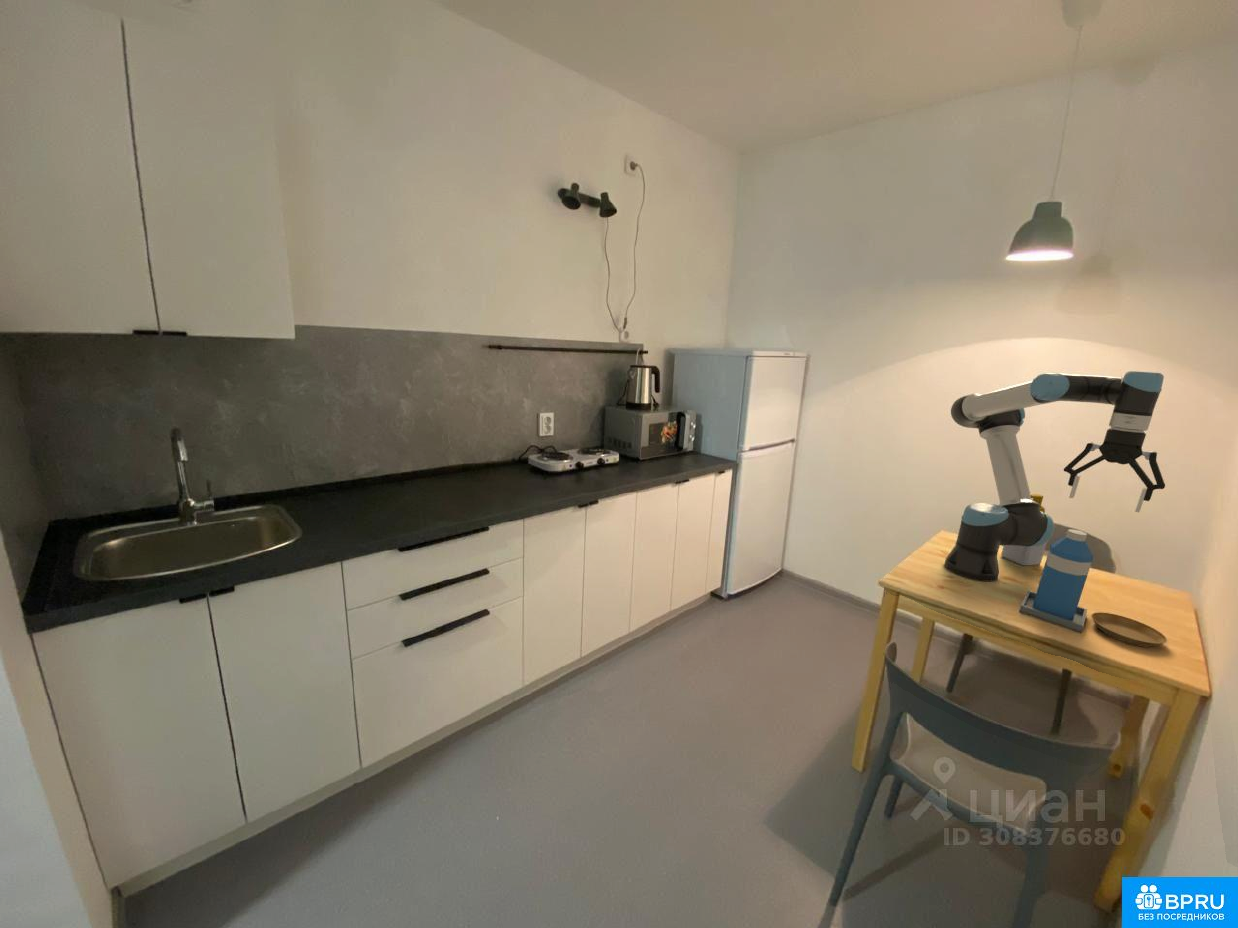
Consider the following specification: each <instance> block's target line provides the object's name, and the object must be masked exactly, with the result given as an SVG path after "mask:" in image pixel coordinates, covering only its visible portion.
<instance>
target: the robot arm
mask: <svg viewBox="0 0 1238 928" xmlns="http://www.w3.org/2000/svg"><path fill="white" fill-rule="evenodd" d="M1164 379H1165V375H1164V374H1163V373H1161V372H1151V371H1147V372H1146V371H1134V370H1128V371H1126V372H1125V373H1124V375H1123V377H1115V376H1106V375H1098V374H1097V375H1096V374H1094V375H1093V374H1092V375H1086V374H1085V375H1084V374H1072V373H1071V374H1069V373H1059V372H1049V373H1041V374H1038V375H1037V376H1036V377H1035V378H1033V379H1032V380H1031V381H1027V382H1024V383H1020V384H1016V385H1012V386H1008V387H1005V388H1001V389H997V390H993V391H990V392H986V393H982V394H979V393H971V394H967V395H964V396H961V397H960V398H957V399H956V400H954V402H953V403H952V405H951V408H950V415H951V418H952V419H953V421H954V422H955V423H956V424H957V425H959V426H961V427H963V428H967V429H968V428H969V429H978V433H979V437H980V438H981V439H983V440H986V441H985V442H986V446H987V449H988V455H989V459H990V463H991V468H992V469H991V470H992V472H993V477H994V480H995V481H994V482H995V486H996V490H997V493H998V499H999V504H998V505H997V504H993V503H990V504H989V503H985V502H980V503H977V502H976V503H970V504H968V505H967V506H966V507H965V508H964V511H963V514H962V515H961V522H960V525H959V526H960V527H959V529H958V533H957V537H956V538H957V539H956V542H955V545H954V547H952V549H951V551H950V552H949V553H948V555H947V556H946V558H945V561H944V567H945V568H946V569H948V570H949V571H951V572H952V573H953V574H956V575H958V576H961V577H964V578H967V579H969V580H970V579H971V580H976V581H981V582H994V581H997V580H998V578H999V575H1000V569H999V568H1000V567H999V563H998V562H999V561H998V553H999V549H1000V546H1004V545H1013V546H1025V547H1030V546H1041V545H1043V544H1045V543H1046V542H1047V543H1048V542H1049V540H1050V539H1051V537H1053V535H1054V530H1055V524H1054V520H1053V518H1052V517H1051V516H1050V515H1049V514H1048V513H1046V512H1045V513H1044V512H1041V511H1040V507H1039V504H1038V503H1037V502H1035V501H1033V498H1031V495H1032V494H1031V491H1030V486H1029V483H1028V479H1027V474H1026V472H1025V467H1024V463H1023V462H1024V461H1023V459H1022V454H1021V450H1020V447H1019V442H1018V439H1017V438H1018V437H1017V434H1018V433H1019V432H1020V430H1021V427H1022V426H1023V424H1024V423H1025V420H1024V419H1025V418H1026V411H1025V409H1026V408H1031V407H1035V406H1040V405H1045V404H1050V403H1055V402H1079V403H1095V404H1104V405H1112V406H1114V407H1113V409H1112V413H1111V416H1110V421H1109V424H1108V426H1109V428H1107V430H1106V433H1105V437H1104V439H1103V443H1101V444H1097V443H1094V442H1092V441H1090V442H1087V444H1086V446H1085V447H1084V449H1083V450H1082V451H1081V453H1079V454H1078V455H1077V456H1076V457H1075V458H1074V459H1072V461H1070V463H1068V464H1067V465H1066V466H1065V467H1064V468H1063V471H1064V472H1066V473H1067V474H1069V475H1070V476H1069V479H1068V483H1067V485H1068V486H1069V487H1071V489H1070V493H1069V496H1068V498H1070V499H1074V498H1075V496H1076V493H1077V489H1078V486H1079V482H1080V479H1081V475H1079V474H1080V473H1082V472H1084V471H1086V470H1088V469H1089V468H1091V467H1093V466H1095V465H1097V464H1099V463H1100V462H1103V461H1104V460H1105V461H1106V462H1108V463H1112V464H1113V463H1117V464H1119V465H1122V466H1123V465H1128V464H1129V466H1130V468H1132V470H1134V472H1135V473H1136V475H1137V476H1138V478H1139V479H1140V480H1141V482H1142V483H1143V484H1144V485H1145V486H1144V487H1143V488H1142V490H1141V493H1140V495H1139V498H1138V501H1137V505H1136V508H1135V511H1134V512H1135V513H1140V512H1141V509H1142V506H1143V502H1144V501H1146V502H1150V500H1151V498H1152V495H1153V492H1154V491H1155V490H1163V489H1165V488H1166V483H1165V481H1164V478H1163V475H1162V472H1161V470H1160V467H1159V463H1158V462H1157V457H1158V452H1157V451H1154V450H1153V451H1143V448H1142V447H1143V445H1144V442H1145V440H1146V437H1147V433H1146V432H1145V431H1148V430H1149V427H1150V423H1151V420H1152V419H1153V413H1154V412H1155V411H1154V410H1155V408H1156V404H1157V401H1158V399H1159V397H1160V394H1161V392H1162V390H1163V389H1162V387H1163V383H1164ZM1096 450H1099V452H1100V454H1101V455H1100V456H1098V457H1096V458H1094V459H1092V460H1090V461H1089V462H1087V463H1085V464H1083V465H1081V466H1079V467H1077V468H1076V469H1074V467H1075V466H1077V464H1078V463H1080V462H1081V461H1082V460H1083V459H1084V458H1086V457H1087V455H1089V453H1090V452H1094V451H1096ZM1142 456H1143V457H1144V459H1145V460H1147V461H1148V462H1149V466H1150V469H1151V472H1152V474H1153V478H1154V480H1155V482H1156V483H1153V481H1152V480H1151V479H1150V478H1149V476H1148V474H1147V473H1146V472H1145V471H1144V470H1143V468H1142V467H1141V465H1140V464H1139V462H1138V461H1137V459H1139V458H1140V457H1142Z"/></svg>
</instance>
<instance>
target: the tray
mask: <svg viewBox="0 0 1238 928" xmlns="http://www.w3.org/2000/svg"><path fill="white" fill-rule="evenodd" d="M1035 596H1036V592H1034V591H1029V590H1028V591H1027V592H1026V594H1025V596H1024V599H1022V600H1023V601H1022V602H1021V604H1020V606H1019V610H1018V612H1019V613H1021V614H1024V615H1027V616H1030V617H1032V618H1035V619H1038V620H1041V621H1044V622H1047V623H1049V624H1053V625H1055V626H1057V627H1061V628H1065V629H1068V630H1071V631H1072V632H1076V633H1079V634H1081V633H1082V631H1083V629H1084V625H1085V622H1086V617H1087V613H1088V609H1087V608H1084V607H1080V606H1077V609H1076V612H1075V615H1074V618H1073V620H1066V619H1063V618H1060V617H1057V616H1054V615H1051V614H1048V613H1045V612H1042V611H1039V610H1036V609H1034V607H1033V602H1034V599H1035Z"/></svg>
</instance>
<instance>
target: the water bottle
mask: <svg viewBox="0 0 1238 928" xmlns="http://www.w3.org/2000/svg"><path fill="white" fill-rule="evenodd" d="M1087 536H1088V534H1087V533H1086V532H1083V531H1082V530H1076V529H1067V530H1066V534H1065V536H1063V537H1062V538H1060V539H1058V540H1055V541H1054V542H1052V543H1051V544H1050V545H1049V546H1050V547H1049V550H1048V553H1047V555H1046V560H1045V563H1044V565H1043V570H1042V572H1041V576H1040V579H1039V583H1038V585H1037V586H1038V587H1037V590H1036V592H1035V593H1036V596H1035V599H1034V602H1033V607H1034V609H1036V610H1039V611H1042V612H1045V613H1048V614H1051V615H1054V616H1057V617H1060V618H1063V619H1066V620H1073V618H1074V615H1075V612H1076V609H1077V606H1078V605H1079V603H1080V600H1081V596H1082V593H1083V592H1084V591H1083V590H1084V588H1085V584H1086V581H1087V578H1088V575H1089V572H1090V568H1091V565H1092V563H1093V560H1094V556H1093V553H1092V552H1091V549H1090V547H1089V546H1088V544H1087V543H1086V539H1087ZM1078 607H1079V606H1078Z"/></svg>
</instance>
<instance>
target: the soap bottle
mask: <svg viewBox="0 0 1238 928" xmlns="http://www.w3.org/2000/svg"><path fill="white" fill-rule="evenodd" d="M1030 495H1031V499H1032V500H1033V501H1035V502H1037V503H1038V504H1039V507H1040V511H1041V512H1044V513H1046V509H1045V507H1044V506H1043V505H1042V503H1043V499H1044V495H1042V494H1036V493H1034V494H1030ZM1047 543H1048V542H1046V543H1045V544H1043V545H1041V546H1030V547H1025V546H1013V545H1002V546H1003V547H1002V550H1001V557H1003V558H1005V559H1007V560H1009V561H1012V562H1014V563H1015V564H1018V565H1020V566H1038V565H1040V564H1041V563H1042V560H1043V557H1044V553H1045V550H1046V547H1047Z"/></svg>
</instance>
